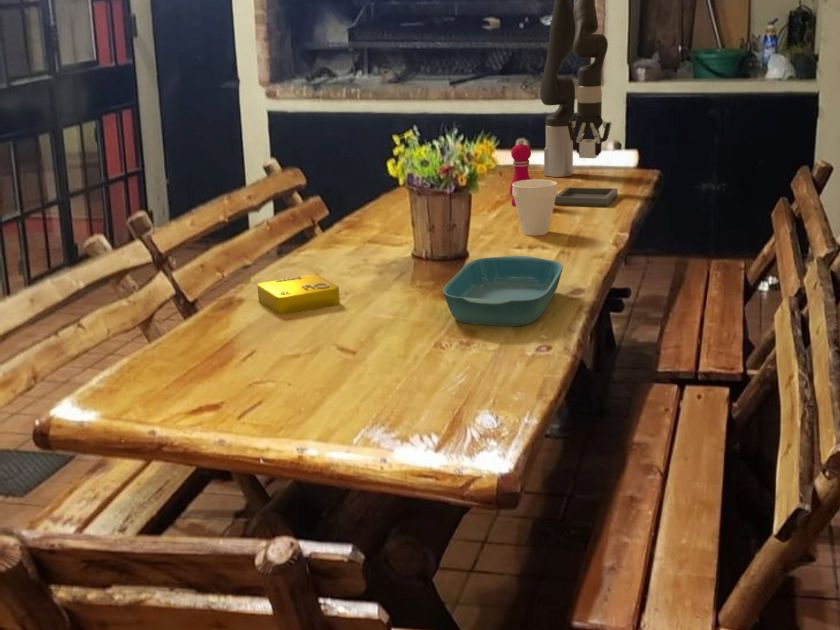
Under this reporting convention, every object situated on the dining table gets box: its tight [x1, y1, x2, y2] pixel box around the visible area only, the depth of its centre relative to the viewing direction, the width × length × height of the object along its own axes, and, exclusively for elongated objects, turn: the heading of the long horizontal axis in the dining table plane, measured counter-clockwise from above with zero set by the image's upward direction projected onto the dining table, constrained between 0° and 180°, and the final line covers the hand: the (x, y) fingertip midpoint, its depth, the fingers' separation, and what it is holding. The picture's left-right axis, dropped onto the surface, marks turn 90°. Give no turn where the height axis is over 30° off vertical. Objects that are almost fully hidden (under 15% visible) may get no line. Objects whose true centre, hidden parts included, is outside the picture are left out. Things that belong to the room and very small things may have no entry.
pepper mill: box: [509, 138, 532, 207], centre depth 352 cm, size 7×7×20 cm
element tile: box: [257, 273, 341, 315], centre depth 260 cm, size 15×15×5 cm
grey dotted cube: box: [578, 138, 599, 159], centre depth 365 cm, size 5×5×5 cm
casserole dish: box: [442, 255, 564, 327], centre depth 250 cm, size 37×22×7 cm, turn 163°
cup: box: [511, 178, 558, 236], centre depth 316 cm, size 12×12×14 cm
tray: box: [554, 186, 619, 208], centre depth 356 cm, size 16×16×2 cm
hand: (588, 154), depth 366 cm, fingers closed on grey dotted cube, 5 cm apart
